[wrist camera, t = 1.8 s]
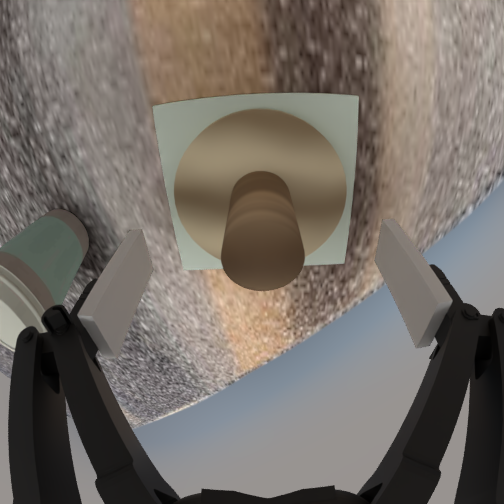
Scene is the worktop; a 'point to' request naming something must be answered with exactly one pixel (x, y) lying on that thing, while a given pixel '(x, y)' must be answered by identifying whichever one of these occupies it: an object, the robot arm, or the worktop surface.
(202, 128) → the mat
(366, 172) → the worktop surface
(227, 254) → the lid
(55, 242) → the coffee cup
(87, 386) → the robot arm
